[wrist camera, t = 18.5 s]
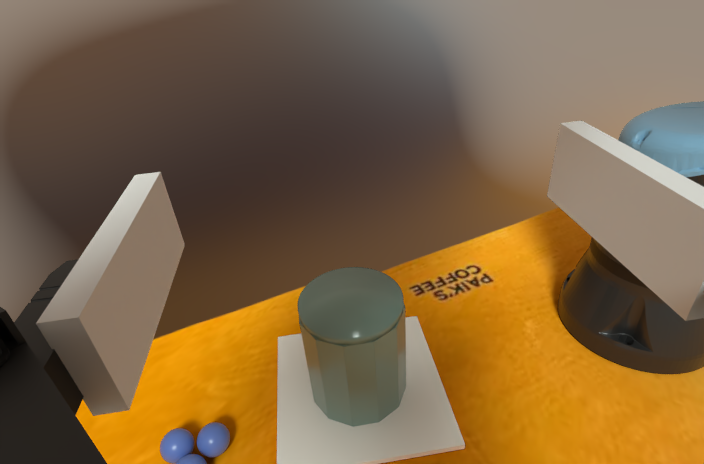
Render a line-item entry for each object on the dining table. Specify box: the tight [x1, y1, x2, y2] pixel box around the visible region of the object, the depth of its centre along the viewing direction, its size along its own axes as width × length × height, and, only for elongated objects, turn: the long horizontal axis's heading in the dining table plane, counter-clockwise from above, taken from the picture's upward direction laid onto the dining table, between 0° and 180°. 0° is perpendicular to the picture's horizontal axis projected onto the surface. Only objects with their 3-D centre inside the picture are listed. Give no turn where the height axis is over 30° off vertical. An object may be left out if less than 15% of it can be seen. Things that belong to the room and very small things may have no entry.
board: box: [277, 316, 465, 464], centre depth 44 cm, size 16×16×1 cm
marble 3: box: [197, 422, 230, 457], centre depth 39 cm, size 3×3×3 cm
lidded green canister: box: [298, 267, 406, 427], centre depth 41 cm, size 9×9×11 cm
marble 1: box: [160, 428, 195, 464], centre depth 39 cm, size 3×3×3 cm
